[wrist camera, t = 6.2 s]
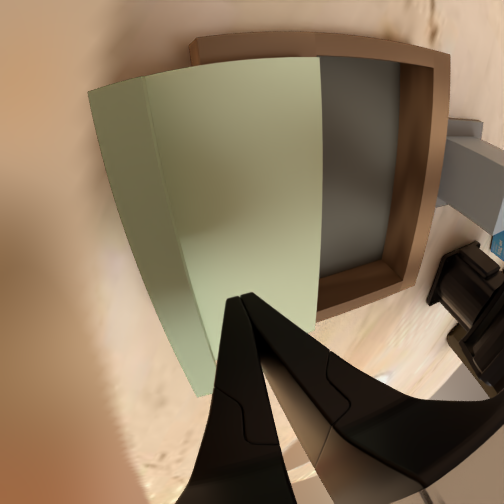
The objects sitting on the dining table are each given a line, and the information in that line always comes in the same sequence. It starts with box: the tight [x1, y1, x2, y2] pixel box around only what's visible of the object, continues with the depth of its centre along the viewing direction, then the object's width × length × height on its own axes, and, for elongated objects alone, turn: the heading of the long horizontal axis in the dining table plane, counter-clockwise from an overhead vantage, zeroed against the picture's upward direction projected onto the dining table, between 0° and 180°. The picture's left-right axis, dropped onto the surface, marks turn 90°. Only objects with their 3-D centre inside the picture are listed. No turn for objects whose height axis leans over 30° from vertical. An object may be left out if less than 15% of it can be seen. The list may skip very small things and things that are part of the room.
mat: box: [435, 118, 483, 208], centre depth 19 cm, size 7×7×1 cm
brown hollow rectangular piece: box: [189, 32, 450, 323], centre depth 15 cm, size 16×13×3 cm
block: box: [437, 136, 504, 236], centre depth 16 cm, size 4×4×6 cm
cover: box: [88, 57, 323, 397], centre depth 12 cm, size 14×7×3 cm, turn 4°
